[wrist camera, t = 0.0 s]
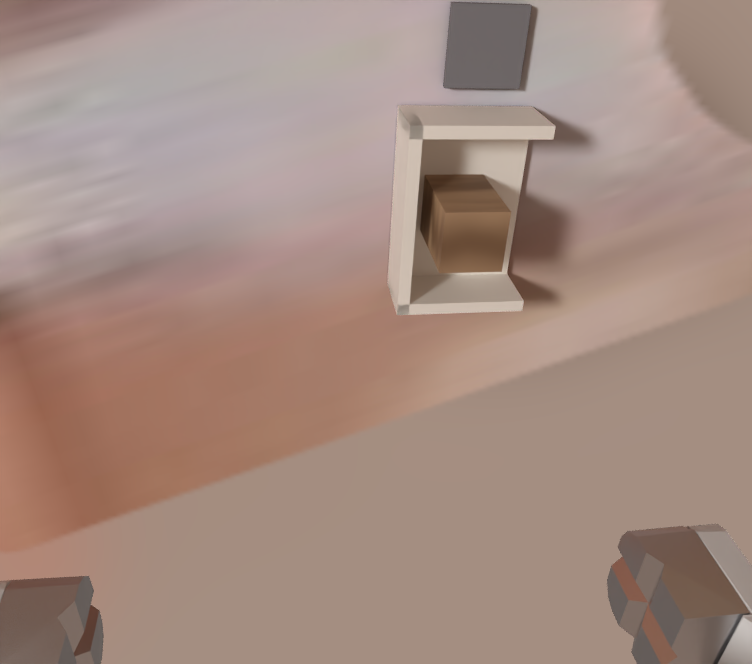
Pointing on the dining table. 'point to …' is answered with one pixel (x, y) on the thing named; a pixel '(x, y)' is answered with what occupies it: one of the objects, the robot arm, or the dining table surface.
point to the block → (464, 223)
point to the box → (448, 157)
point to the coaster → (486, 45)
